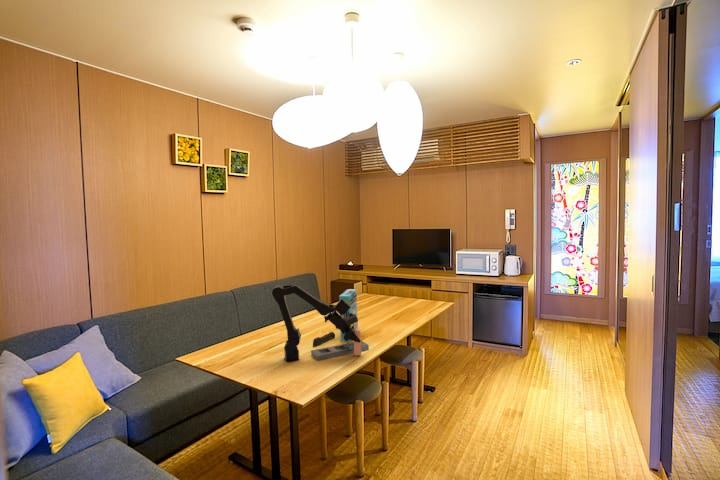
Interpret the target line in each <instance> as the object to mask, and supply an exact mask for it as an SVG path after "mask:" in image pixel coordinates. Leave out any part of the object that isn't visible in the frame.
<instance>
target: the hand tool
mask: <svg viewBox="0 0 720 480" xmlns="http://www.w3.org/2000/svg"><path fill="white" fill-rule="evenodd" d="M335 338H336V334H335V332H333V331H330V332H329V333H327V334H324V335H322V336H320V337H319V336H317V337H316V338H315V337H314V339H313V340H312V348H316V347H319V346H321V345H322V344H323V343H325V342H327V341H330V340H332V339H335Z"/></svg>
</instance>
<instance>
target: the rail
mask: <svg viewBox="0 0 720 480" xmlns="http://www.w3.org/2000/svg"><path fill="white" fill-rule="evenodd" d="M369 349H370V347H369V344H368V343H366V342H365V341H362V340H361V352H364V351H368V350H369ZM350 354H354V341H350V342H346V343H342V344H337V345H332V346H327V347H323V348H317V349H313V350H311V351H310V355H311V357H313V359H315V360H316V361H322V360H326V359H333V358H336V357H340V356H345V355H346V356H347V355H350Z"/></svg>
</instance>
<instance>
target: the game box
mask: <svg viewBox="0 0 720 480" xmlns="http://www.w3.org/2000/svg"><path fill="white" fill-rule="evenodd" d="M357 295H358V294H357V289H356V288H355V289H354V288H353V289H352V288H349V289H346V290H344V291H343V293H341V294H340V295H339V297H338V299H339V301H340V300H341V299H343V300H345V301H347V302H348V303H349V304H350V305H351V308H350V309H349V310H348V311H347V312H346V313H345V314H344V315H340V314H339V315H340V316H341V317H342V318H345V319H346V318H348V317H349V314H350V313H352V314H356V316H357V317H358V300H357V297H358V296H357ZM339 301H338V302H339ZM358 324H359V321H358V322H355V323H353V324H351V327H352V326H353V325H354V329H359V326H358ZM340 342H346V341H345V340H344V337H343V334H342V332H341V331H340ZM347 342H348V343H351V342H352V340H348V341H347Z"/></svg>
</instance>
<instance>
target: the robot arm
mask: <svg viewBox="0 0 720 480" xmlns="http://www.w3.org/2000/svg"><path fill="white" fill-rule="evenodd" d="M293 294H295V295H296V296H298V297H299V298H301V299H302V300H304V301H305V302H307V304H309V305H311V306H312V308H314V310H316V311H317V312H318V314H320V315H321V316H322V317H323V318H324V323H328V321H329V322H330V323H331V324H332V325H334V327H335V328H336V330H339V331H340V333H341V332H342V334H343V337H344V340H345V341H344V342H349V341H348V340H351V342H354V341H355V342H359V343H360V342H361V341H362V340H361V341H360V339H359V338H358V337H357V336H356V334H355V329H354V325H353V326H352V327H351V324H353V323H355V322H358V323H359V317H358V315H357V316H356V314H352V313H350V314H349V317H348V318H346V319H345V318H342V317H341V316H340V315H344V314H345V313H346V312H347V311H348V310H349V309H350V308H351V305H350V304H349V303H348V302H347V301H345V300H343V299H341V300H340V301H338V302H337V303H336V304H331V303H330V304H329V303H328V302H326V301H324V300H322V299H319V298H316V297H315V296H314V295H312V294H310V293H309V292H308V291H306V290H305V289H304V288H302V287H301V286H299V285H298V284H289V285H281V284H278V285H276V286H275V287H274V288H273V289H272V291H271V295H272V297H273V299H274V300H275V302H276V303H277V305H278V307H279V310H280V313H281V316H282V319H283V323H284V325H285V328H286V334H287V340H286V341H285V345H284V347H283V348H284V357H283V359H284V361H285V362H286V363H291V362H297V361H299V360H300V350H299V349H298V348H299V347H298V346H299V344H300V342H301V337H302V334H301V332H300V328H299V327H297V328H296V326H295V325H294V321H293V317H292V316H291V315H292V314H291V312H290V310H289V305H288V303H287V296H288V295H293ZM353 329H354V330H353Z"/></svg>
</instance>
